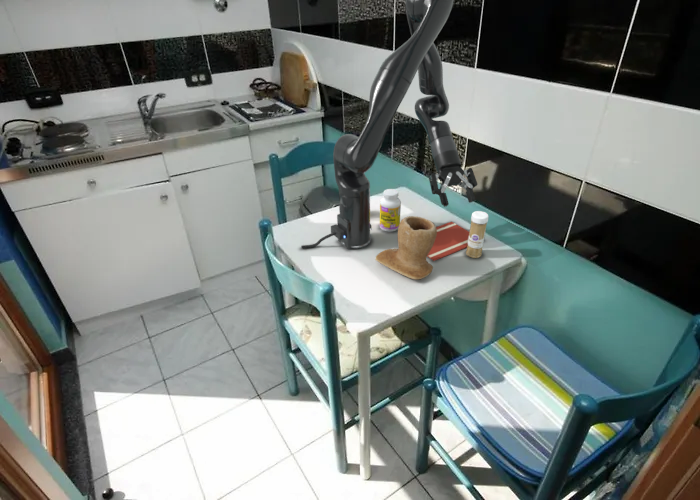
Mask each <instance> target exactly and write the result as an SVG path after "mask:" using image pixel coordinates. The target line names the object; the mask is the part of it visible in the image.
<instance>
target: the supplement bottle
mask: <svg viewBox="0 0 700 500" xmlns="http://www.w3.org/2000/svg"><path fill="white" fill-rule="evenodd" d="M382 194H383V196H382V198H380V200H379V201H380V202H379V228H380V229H381V230H382V231H384V232H391V233H392V232H395V231H398V227H399V224H400V222H401V209H402V208H401V207H402V201H401V199H400V198H399V191H398V190H397V189H394V188H387V189H384V190H383V193H382Z"/></svg>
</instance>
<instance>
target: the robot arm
mask: <svg viewBox="0 0 700 500" xmlns="http://www.w3.org/2000/svg"><path fill="white" fill-rule="evenodd" d="M454 2H455V0H405V14H406V19H407V23H408V26H409V32H410V35H411V36H410V38H408V40H406V41H405V42H404V43H402V45H401V46H399V47H398V48H397V49H395V50H394V51H393V52H392V53H391V54H389V55H388V56H387V58H385V59H384V60H383V62H382V63H381V65H380V67H379V69H378V71H377V73H376V75H375V77H374V80H373V81H372V83H371V87H370V91H369V99H368V100H369V101H368V115H367V118H366V121H365V124H364V127H363V128H362V130H361V132H360V134H359V136H357V135H356V134H352V133H346V134H343V135H341V136H340V137H338V139H337V140H336V142H335V143H334V147H333V154H332V156H333V159H332V160H333V169H334V179H335V183H336V185H337V188H338V205H339V207H338V209H339V213H337V215H336V221H337V223H335V224H333V225H330V233H329V234H327V235H324V236H323V237H321V238H319V239H318V240H317V242H316V243H312V244H305V245H304V244H303V245H301V247H300V248H301V249H311V248H315V247H317V246H319V245H320V244H321V243H322V242H324V241H325V240H326V239H329V238H331V237H333V236H334V237H335V238H336V239H337V241H338V242H339V243H340V244H341V245H342V246H343V247H344V248H345V249H347V250H351V249H353V250H355V249H356V250H357V249H362V248H366V247H367V246H368V245H370V243H371V231H372V228H373V227H372V226H373V225H372V223H371V183H370V180H369V178H368V177H367V176H366V175H365V174H366V173H367V172H368V171H369V170H370V169H371V168H372V166H373V165H374V164H375V161H376V159H377V158H378V155H379V153H380V150H381V147H382V145H383V143H384V140H385V138H386V135H387V132H388V130H389V129H390V126H391V124H392V121H393V120H394V118H395V116H396V113H397V111H398V109H399V107H400V105H401V104H402V101H403V100H404V98H405V96H406V94H407V92H408V91H409V88H410V87H411V85H412V82H413V81H414V79H415V76H416V75H417V76H418V88H419V91H420V93H421V94H423V95H425V96H423V97H421V98H418V99H417V100H416V101H415V103H414V113H415V115H416V117H417V119H418V121H419V123H421V125H422V127H423V128H424V130H425V132H426V134H427V137H428V141H429V145H430V151H431V156H432V159H433V162H434V165H435V169H436V172H437V173H435V172H432V173H431V174H430V175H429V176H428V180H429V185H430V191H431V194H432V195H438V197H439V201H440V204H441V206H443V207H447V206H449V200H448V196H447V193H446V190H447V187H448V188H450V187H456V186H459V187H460V188H462V189H464V190H465V195H466V198H467V201H468V203H473V202H474V201H475V198H476V197H475V193H474V188H475V187H477V186H478V182H477V179H476V175H475V173H474V169H473V168H472V167H469V168H467V169H463V168H462V161H461V158H460V155H459V151H458V148H457V145H456V142H455V140H454V137H453V134H452V130H451V127H450V123H448V122H447V121H446V120H435V119H437V118H441V117H444V116H446V115H447V114H448V112H449V110H450V103H449V100H448V97H447V95H446V92H445V88H444V80H443V79H444V77H443V76H444V75H443V73H444V72H443V70H444V69H443V62H442V58H441V55H440V53H439V51H438V49H437V46H436V44H435V43H434V42H435V40H436V39H437V38H438V35H440V33H441V31H442V29H443V27H444V26H445V24H446V23H447V21H448V19H449V17H450V15H451V12H452V10H453V7H454ZM417 73H418V74H417ZM438 180H439V181H440V182H441V184H440V186H439V184H438Z"/></svg>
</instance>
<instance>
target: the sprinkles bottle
mask: <svg viewBox="0 0 700 500" xmlns="http://www.w3.org/2000/svg"><path fill="white" fill-rule="evenodd" d="M488 222H489V214H488V212H485V211H481V210H476V211H473V212H472V213H471V217H470V227H469V238H468V246H467V248H466V251H465V254H466V256H467V257H469V258H472V259H478V258H480V257H482V253H483V247H484V243H485V236H486V230H487V225H488Z"/></svg>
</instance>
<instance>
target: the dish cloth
mask: <svg viewBox="0 0 700 500" xmlns="http://www.w3.org/2000/svg"><path fill="white" fill-rule="evenodd" d="M436 229H437V235H436V239H435V242H434V244H433V247H432V249H431V250H430V252H429V254H428V255H427V258H429V259H430V260H432V261H433V262H435V261H437V260H440V259H443V258H445V257H447V256H449V255H452V254H454V253H457V252H459V251H462V250H464V249H467V246H468V238H469V232H470V230H467V229H466V228H464V227H463V226H460V225H459V224H457V223H455V222H453V221H450V222H446V223H443V224H440V225H439V226H438V225H437V226H436Z"/></svg>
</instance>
